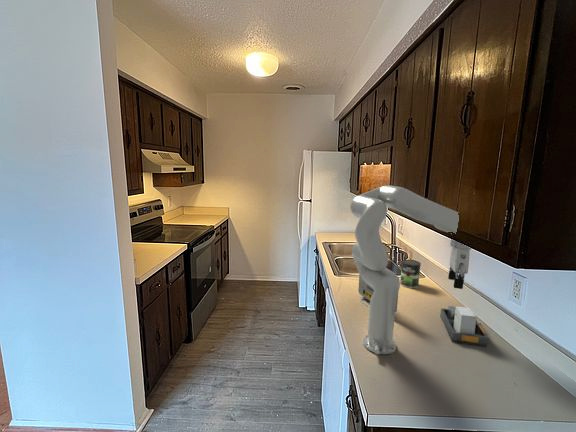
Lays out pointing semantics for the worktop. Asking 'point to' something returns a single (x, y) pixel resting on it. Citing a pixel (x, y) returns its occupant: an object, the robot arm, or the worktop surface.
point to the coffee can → (410, 273)
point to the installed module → (451, 312)
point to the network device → (368, 292)
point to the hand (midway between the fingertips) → (455, 283)
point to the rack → (476, 339)
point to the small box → (464, 320)
